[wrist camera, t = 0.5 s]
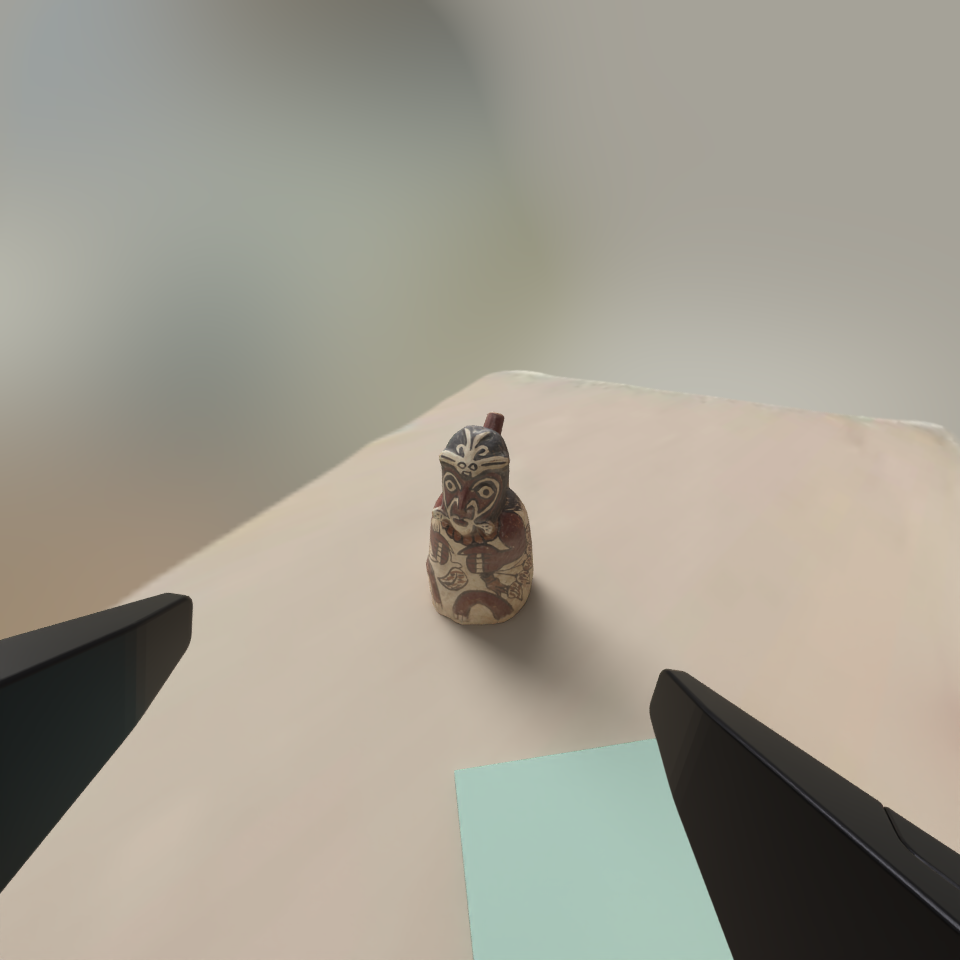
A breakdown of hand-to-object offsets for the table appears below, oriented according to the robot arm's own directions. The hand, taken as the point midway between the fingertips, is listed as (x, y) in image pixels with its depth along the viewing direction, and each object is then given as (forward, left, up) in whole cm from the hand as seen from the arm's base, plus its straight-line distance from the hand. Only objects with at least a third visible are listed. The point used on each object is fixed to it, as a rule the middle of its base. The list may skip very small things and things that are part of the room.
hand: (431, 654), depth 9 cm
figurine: (+17, -4, -15) cm, 23 cm away
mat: (+1, -8, -15) cm, 17 cm away
